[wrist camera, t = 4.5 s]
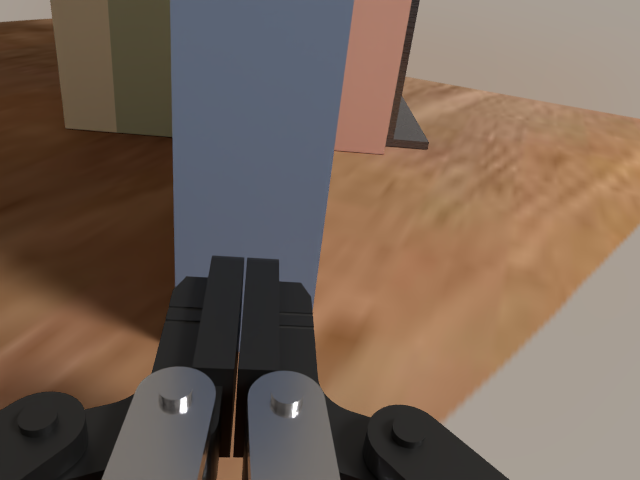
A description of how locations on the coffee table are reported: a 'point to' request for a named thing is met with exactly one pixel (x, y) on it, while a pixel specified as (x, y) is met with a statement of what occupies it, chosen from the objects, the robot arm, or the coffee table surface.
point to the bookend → (402, 120)
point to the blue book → (255, 130)
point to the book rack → (155, 68)
